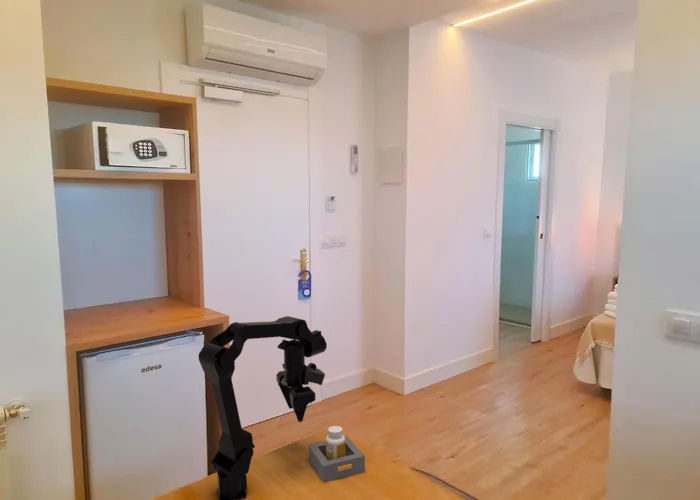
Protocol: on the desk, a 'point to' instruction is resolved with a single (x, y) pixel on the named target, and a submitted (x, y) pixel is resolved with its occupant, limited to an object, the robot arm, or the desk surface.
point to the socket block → (336, 461)
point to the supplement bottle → (335, 443)
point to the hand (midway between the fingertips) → (295, 414)
